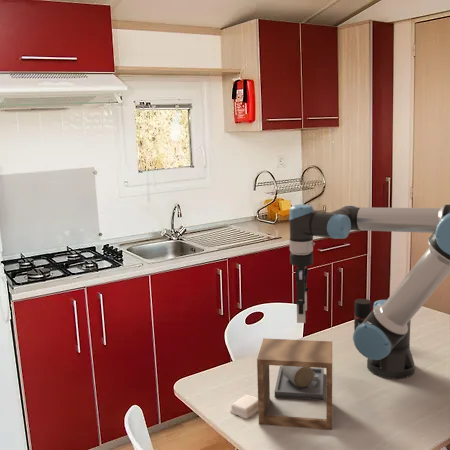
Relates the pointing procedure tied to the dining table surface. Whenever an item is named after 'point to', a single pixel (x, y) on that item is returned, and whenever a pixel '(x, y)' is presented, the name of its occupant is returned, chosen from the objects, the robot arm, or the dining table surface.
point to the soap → (245, 406)
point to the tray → (292, 391)
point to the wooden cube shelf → (300, 357)
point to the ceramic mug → (299, 375)
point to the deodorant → (361, 311)
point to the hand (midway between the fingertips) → (302, 316)
